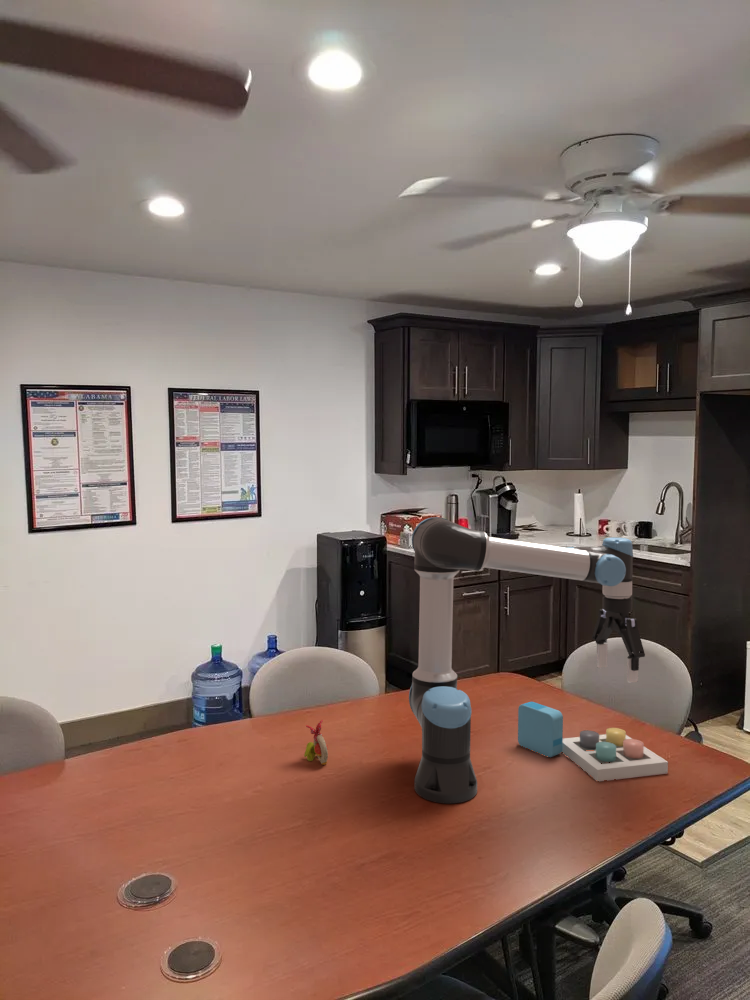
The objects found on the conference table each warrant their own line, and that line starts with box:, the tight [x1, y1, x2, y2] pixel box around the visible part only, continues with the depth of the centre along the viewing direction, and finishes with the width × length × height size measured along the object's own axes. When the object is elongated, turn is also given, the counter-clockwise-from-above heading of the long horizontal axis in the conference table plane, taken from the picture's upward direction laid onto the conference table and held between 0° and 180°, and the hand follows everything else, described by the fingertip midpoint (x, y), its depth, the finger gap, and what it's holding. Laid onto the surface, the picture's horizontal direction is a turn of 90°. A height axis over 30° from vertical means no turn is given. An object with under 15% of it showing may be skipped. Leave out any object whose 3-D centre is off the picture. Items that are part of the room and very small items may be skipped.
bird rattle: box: [303, 719, 329, 766], centre depth 187 cm, size 6×11×9 cm
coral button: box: [623, 738, 645, 759], centre depth 185 cm, size 5×5×3 cm
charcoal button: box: [579, 729, 600, 749], centre depth 191 cm, size 5×5×3 cm
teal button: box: [596, 742, 616, 762], centre depth 183 cm, size 5×5×3 cm
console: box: [562, 733, 669, 782], centre depth 188 cm, size 20×20×3 cm
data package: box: [517, 701, 564, 758], centre depth 195 cm, size 12×4×12 cm, turn 38°
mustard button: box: [605, 727, 627, 746], centre depth 193 cm, size 5×5×3 cm
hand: (616, 674), depth 190 cm, fingers open, 13 cm apart
